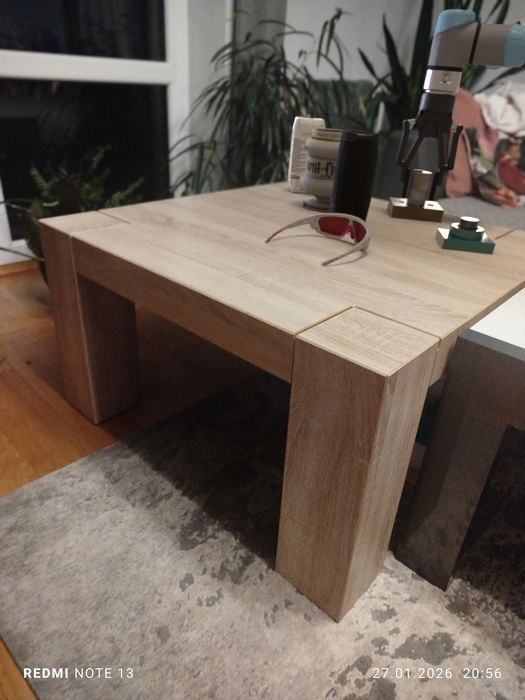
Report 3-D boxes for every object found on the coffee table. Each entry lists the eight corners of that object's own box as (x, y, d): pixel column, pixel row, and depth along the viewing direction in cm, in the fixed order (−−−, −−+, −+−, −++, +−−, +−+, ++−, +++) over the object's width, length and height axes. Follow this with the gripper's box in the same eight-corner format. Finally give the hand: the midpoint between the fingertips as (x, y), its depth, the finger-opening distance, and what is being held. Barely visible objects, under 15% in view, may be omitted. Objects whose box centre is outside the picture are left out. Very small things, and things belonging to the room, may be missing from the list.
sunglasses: (387, 251, 96) (389, 226, 93) (326, 282, 87) (326, 256, 84) (321, 229, 107) (321, 205, 104) (261, 254, 98) (259, 230, 95)
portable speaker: (329, 230, 107) (343, 131, 98) (325, 219, 115) (337, 127, 106) (369, 233, 107) (386, 135, 98) (362, 222, 116) (377, 130, 106)
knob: (423, 202, 126) (430, 169, 122) (426, 206, 122) (433, 172, 118) (405, 200, 126) (412, 168, 123) (407, 204, 122) (414, 170, 119)
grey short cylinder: (474, 227, 104) (476, 217, 103) (478, 232, 101) (481, 222, 100) (456, 225, 104) (459, 215, 103) (460, 230, 101) (462, 220, 100)
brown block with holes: (433, 213, 130) (436, 201, 128) (441, 223, 121) (444, 209, 119) (387, 208, 131) (389, 196, 129) (390, 217, 122) (393, 204, 120)
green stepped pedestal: (482, 243, 107) (487, 224, 105) (492, 254, 100) (498, 234, 98) (434, 238, 108) (439, 219, 106) (441, 249, 101) (446, 229, 99)
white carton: (319, 194, 140) (328, 120, 131) (288, 192, 139) (295, 117, 130) (315, 189, 146) (323, 118, 137) (286, 187, 146) (292, 115, 137)
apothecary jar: (289, 202, 129) (296, 126, 120) (327, 200, 134) (337, 127, 125) (314, 214, 119) (325, 132, 111) (355, 211, 125) (367, 133, 116)
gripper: (398, 89, 110) (379, 197, 121) (487, 97, 108) (459, 205, 120) (395, 89, 117) (377, 191, 128) (478, 96, 115) (453, 198, 126)
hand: (416, 197), depth 124 cm, fingers open, 6 cm apart
